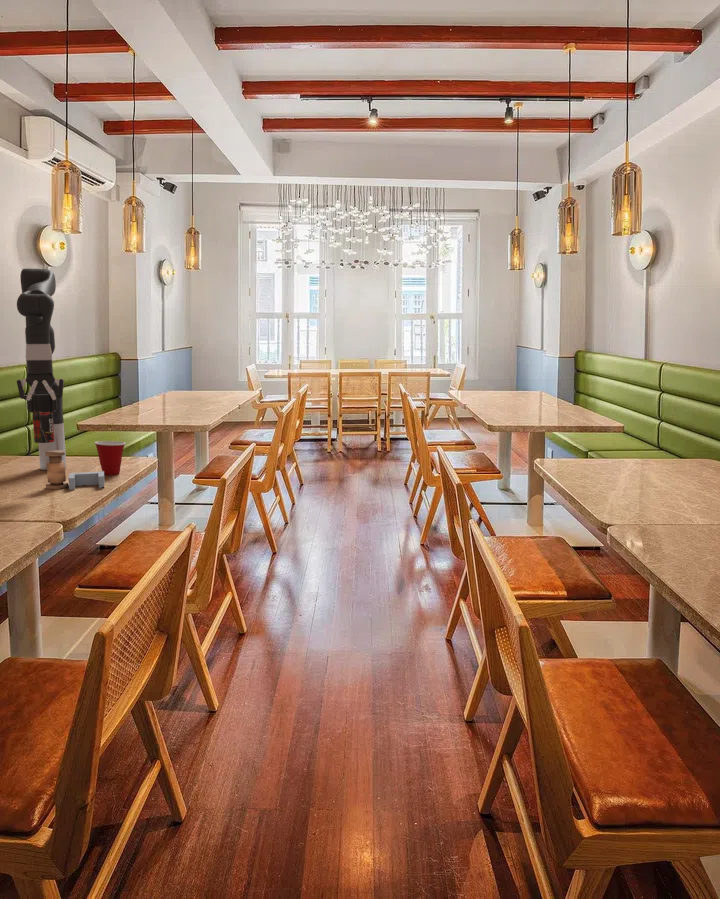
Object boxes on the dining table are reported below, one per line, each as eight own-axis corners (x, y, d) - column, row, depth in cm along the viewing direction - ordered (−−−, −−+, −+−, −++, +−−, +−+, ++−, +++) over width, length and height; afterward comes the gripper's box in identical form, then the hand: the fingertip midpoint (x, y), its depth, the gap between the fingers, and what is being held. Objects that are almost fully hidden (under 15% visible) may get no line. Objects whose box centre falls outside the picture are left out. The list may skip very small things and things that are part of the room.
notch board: (70, 484, 254) (69, 473, 254) (104, 482, 258) (103, 471, 257) (69, 490, 246) (68, 478, 245) (104, 487, 249) (103, 476, 249)
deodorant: (38, 440, 242) (35, 394, 239) (57, 440, 242) (54, 394, 240) (31, 443, 236) (28, 395, 234) (50, 442, 236) (47, 395, 234)
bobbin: (46, 485, 252) (44, 450, 250) (68, 484, 255) (66, 449, 253) (45, 490, 246) (42, 454, 244) (67, 488, 248) (65, 453, 246)
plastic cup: (133, 473, 274) (131, 441, 272) (105, 478, 266) (103, 444, 264) (117, 469, 281) (116, 438, 279) (90, 473, 273) (88, 441, 271)
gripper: (64, 358, 241) (67, 410, 243) (15, 358, 237) (19, 411, 239) (62, 358, 234) (66, 412, 236) (12, 359, 229) (16, 413, 232)
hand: (42, 411), depth 238 cm, fingers closed on deodorant, 6 cm apart
